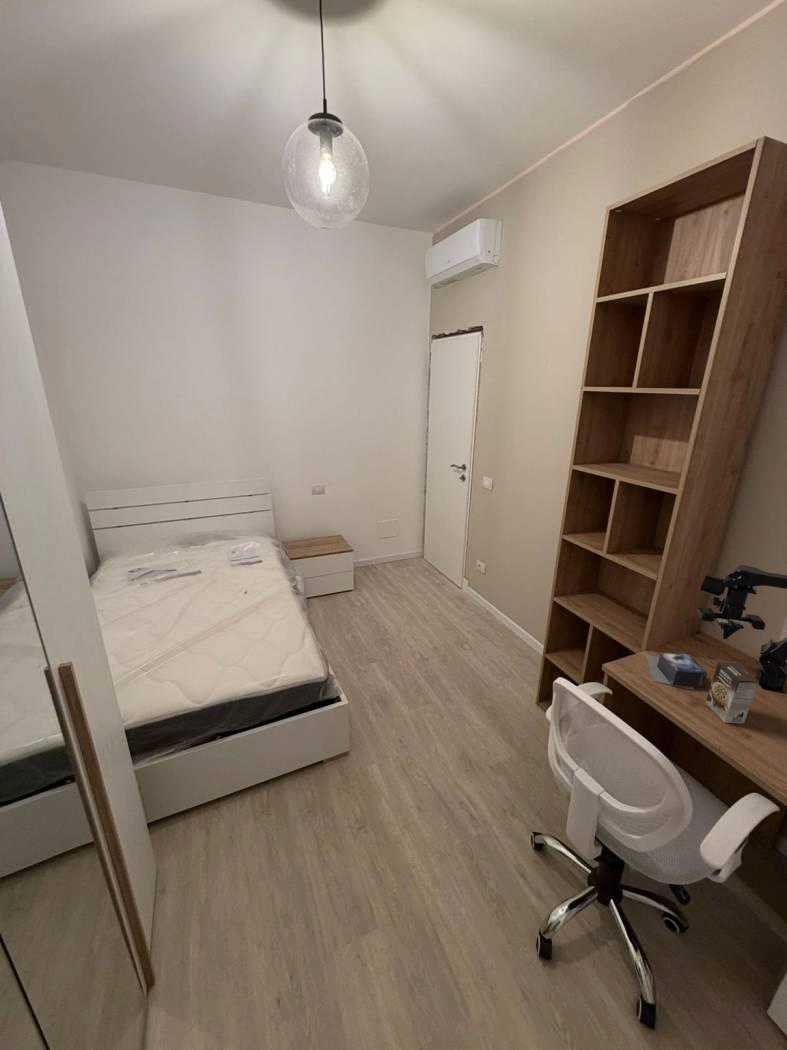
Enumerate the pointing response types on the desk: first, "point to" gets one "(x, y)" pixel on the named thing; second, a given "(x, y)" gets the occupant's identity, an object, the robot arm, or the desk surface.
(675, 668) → the small box
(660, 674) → the mat
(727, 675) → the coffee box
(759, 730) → the desk surface
